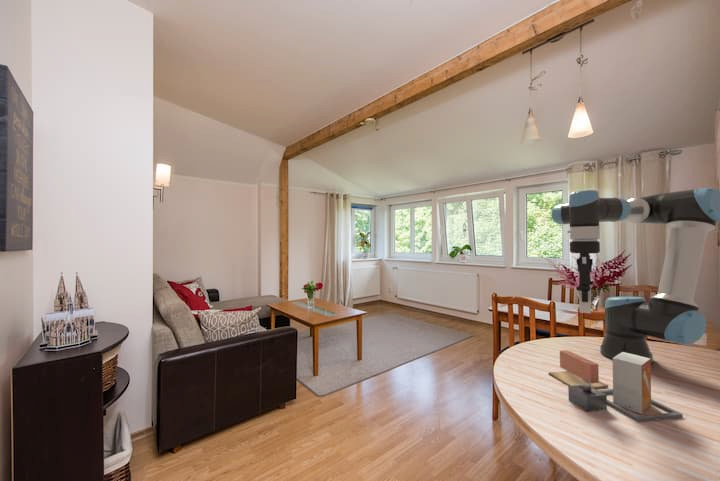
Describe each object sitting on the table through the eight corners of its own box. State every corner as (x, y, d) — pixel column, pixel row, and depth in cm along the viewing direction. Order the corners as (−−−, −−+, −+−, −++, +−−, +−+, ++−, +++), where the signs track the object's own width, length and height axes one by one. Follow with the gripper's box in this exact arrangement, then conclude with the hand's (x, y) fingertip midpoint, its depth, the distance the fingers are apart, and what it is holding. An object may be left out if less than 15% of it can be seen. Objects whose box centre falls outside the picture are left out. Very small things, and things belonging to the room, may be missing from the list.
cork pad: (577, 371, 104) (577, 370, 104) (607, 387, 93) (607, 385, 93) (548, 374, 102) (548, 372, 102) (575, 390, 91) (575, 388, 91)
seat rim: (627, 390, 91) (627, 387, 91) (682, 417, 77) (682, 414, 77) (588, 393, 89) (588, 391, 89) (638, 422, 75) (638, 418, 75)
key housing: (587, 398, 87) (587, 383, 87) (606, 409, 81) (606, 394, 81) (568, 399, 86) (568, 385, 86) (586, 411, 80) (586, 396, 80)
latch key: (567, 376, 91) (566, 350, 91) (598, 393, 81) (598, 364, 81) (560, 376, 91) (559, 350, 91) (590, 394, 81) (590, 364, 81)
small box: (643, 415, 78) (642, 365, 78) (612, 404, 83) (611, 357, 83) (652, 405, 82) (651, 358, 82) (622, 395, 88) (621, 351, 88)
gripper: (571, 240, 106) (573, 300, 106) (567, 241, 86) (568, 314, 86) (599, 239, 101) (600, 302, 101) (600, 240, 81) (602, 318, 81)
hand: (585, 308), depth 94 cm, fingers open, 13 cm apart
